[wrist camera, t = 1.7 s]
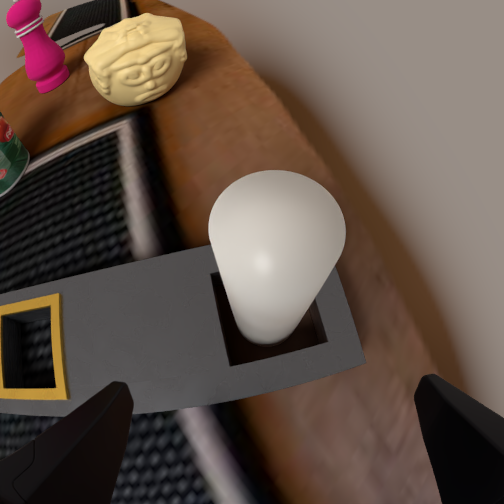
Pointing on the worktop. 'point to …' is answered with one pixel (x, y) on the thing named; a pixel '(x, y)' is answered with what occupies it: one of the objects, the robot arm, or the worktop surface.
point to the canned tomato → (11, 157)
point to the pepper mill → (37, 46)
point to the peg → (274, 250)
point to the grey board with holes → (157, 338)
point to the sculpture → (137, 59)
